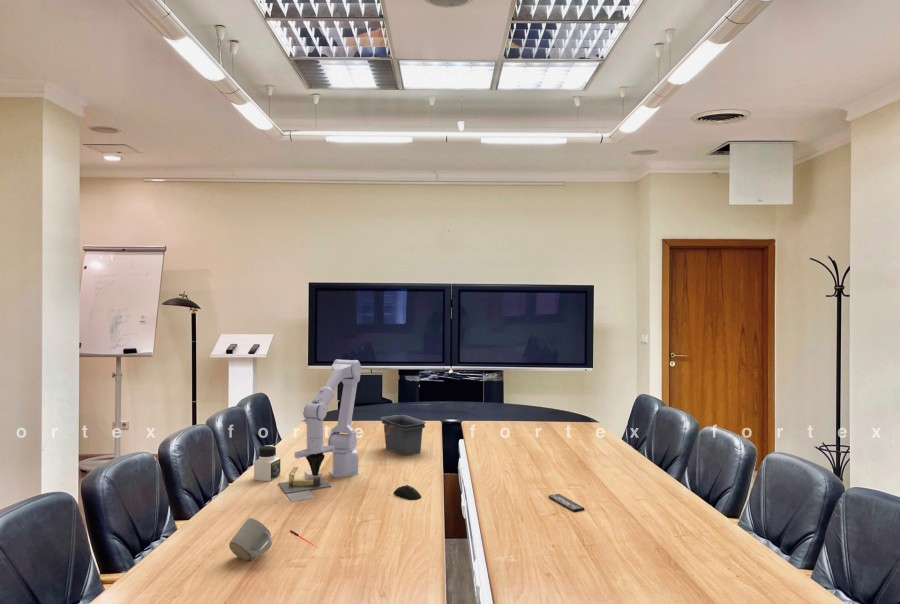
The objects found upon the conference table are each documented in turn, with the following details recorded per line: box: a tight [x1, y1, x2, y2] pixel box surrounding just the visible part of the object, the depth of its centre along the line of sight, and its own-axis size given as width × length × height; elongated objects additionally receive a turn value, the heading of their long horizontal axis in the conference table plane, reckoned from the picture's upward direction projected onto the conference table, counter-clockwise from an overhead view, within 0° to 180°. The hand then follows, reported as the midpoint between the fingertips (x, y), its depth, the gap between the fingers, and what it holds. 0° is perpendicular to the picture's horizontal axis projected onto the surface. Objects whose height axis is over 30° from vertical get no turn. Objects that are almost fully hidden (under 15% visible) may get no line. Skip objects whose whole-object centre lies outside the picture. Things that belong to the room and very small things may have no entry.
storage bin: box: [380, 414, 427, 457], centre depth 252 cm, size 21×16×14 cm
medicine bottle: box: [253, 444, 281, 482], centre depth 214 cm, size 7×7×12 cm
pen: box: [289, 529, 319, 549], centre depth 157 cm, size 1×19×1 cm, turn 43°
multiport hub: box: [548, 493, 585, 513], centre depth 185 cm, size 4×14×2 cm, turn 23°
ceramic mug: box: [228, 517, 273, 562], centre depth 146 cm, size 11×8×8 cm
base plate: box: [277, 477, 332, 495], centre depth 204 cm, size 16×12×1 cm
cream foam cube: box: [303, 470, 323, 483], centre depth 207 cm, size 5×5×4 cm
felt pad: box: [285, 490, 316, 503], centre depth 193 cm, size 8×8×1 cm
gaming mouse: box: [393, 484, 422, 501], centre depth 193 cm, size 6×15×4 cm, turn 42°
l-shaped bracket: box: [288, 466, 320, 486], centre depth 207 cm, size 10×11×4 cm
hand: (315, 474), depth 202 cm, fingers closed
